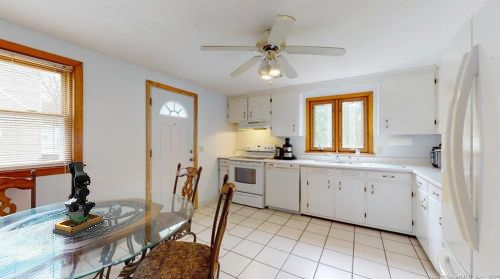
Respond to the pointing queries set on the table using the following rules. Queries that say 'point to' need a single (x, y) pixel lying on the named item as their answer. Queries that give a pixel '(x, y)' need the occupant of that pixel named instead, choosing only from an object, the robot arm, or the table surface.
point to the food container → (77, 218)
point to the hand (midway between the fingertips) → (80, 216)
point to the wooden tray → (71, 231)
